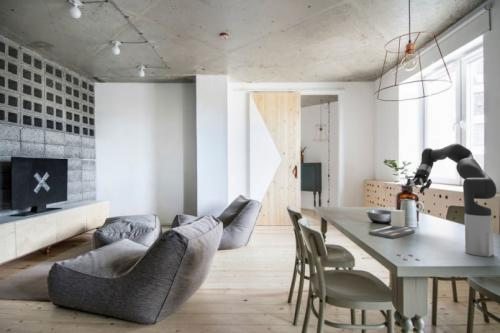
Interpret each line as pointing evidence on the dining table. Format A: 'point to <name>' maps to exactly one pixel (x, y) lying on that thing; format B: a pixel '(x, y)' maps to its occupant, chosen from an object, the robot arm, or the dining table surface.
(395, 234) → the grey tray
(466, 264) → the dining table surface
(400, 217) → the white upright block
